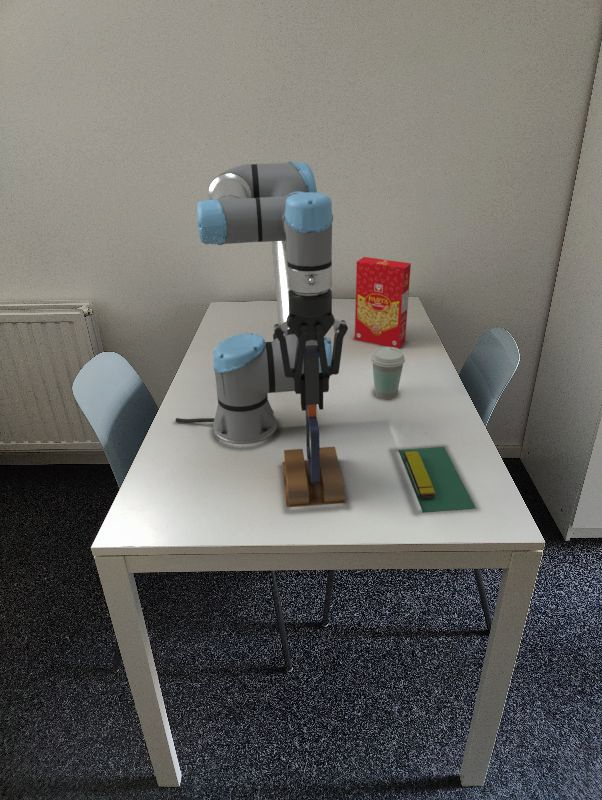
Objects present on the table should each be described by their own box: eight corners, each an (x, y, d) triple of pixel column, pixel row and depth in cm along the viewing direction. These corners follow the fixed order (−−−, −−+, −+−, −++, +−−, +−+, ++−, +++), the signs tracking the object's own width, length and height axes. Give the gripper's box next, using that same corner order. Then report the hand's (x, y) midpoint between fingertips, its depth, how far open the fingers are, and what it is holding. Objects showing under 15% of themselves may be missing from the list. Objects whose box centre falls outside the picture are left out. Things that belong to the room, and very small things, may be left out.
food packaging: (354, 339, 185) (356, 261, 172) (361, 333, 188) (364, 256, 176) (398, 348, 178) (404, 268, 166) (405, 342, 182) (410, 263, 169)
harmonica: (420, 493, 116) (419, 500, 117) (435, 492, 116) (434, 499, 117) (403, 450, 129) (403, 458, 130) (417, 449, 129) (416, 457, 130)
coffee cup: (401, 403, 150) (404, 361, 144) (367, 400, 152) (369, 359, 146) (403, 387, 157) (406, 346, 151) (371, 384, 159) (373, 344, 153)
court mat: (415, 512, 114) (415, 512, 114) (391, 450, 132) (391, 450, 132) (475, 508, 115) (475, 507, 115) (444, 447, 133) (444, 446, 133)
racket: (323, 485, 115) (322, 361, 102) (308, 486, 115) (305, 362, 102) (317, 453, 124) (315, 336, 111) (303, 454, 124) (300, 337, 111)
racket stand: (347, 507, 116) (347, 488, 114) (286, 512, 115) (285, 493, 113) (336, 462, 129) (336, 444, 127) (282, 466, 128) (281, 448, 126)
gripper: (264, 299, 97) (271, 419, 109) (359, 294, 98) (355, 414, 110) (263, 284, 103) (270, 399, 115) (351, 279, 104) (349, 394, 116)
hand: (311, 406), depth 112 cm, fingers closed on racket, 3 cm apart
